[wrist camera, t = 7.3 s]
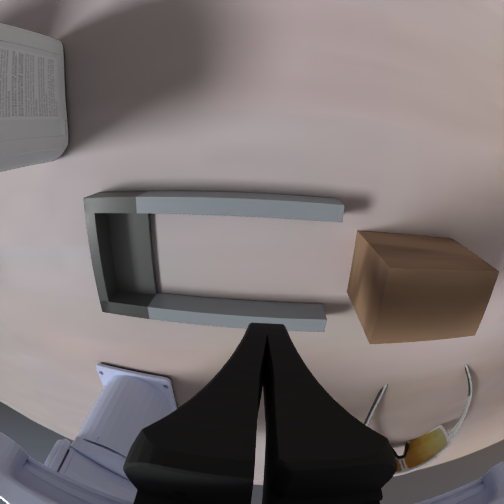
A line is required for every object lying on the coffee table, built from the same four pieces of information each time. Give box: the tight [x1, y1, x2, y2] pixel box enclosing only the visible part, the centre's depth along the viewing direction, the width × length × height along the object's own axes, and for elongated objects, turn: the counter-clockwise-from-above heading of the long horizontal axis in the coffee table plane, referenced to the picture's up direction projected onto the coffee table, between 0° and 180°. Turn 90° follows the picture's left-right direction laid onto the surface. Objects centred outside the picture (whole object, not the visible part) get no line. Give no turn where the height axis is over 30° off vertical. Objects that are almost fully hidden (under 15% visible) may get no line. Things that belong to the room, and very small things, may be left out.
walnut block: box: [347, 231, 499, 344], centre depth 16 cm, size 4×8×6 cm, turn 88°
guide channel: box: [84, 191, 344, 332], centre depth 18 cm, size 8×16×2 cm, turn 88°
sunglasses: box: [364, 364, 472, 476], centre depth 24 cm, size 14×15×5 cm
